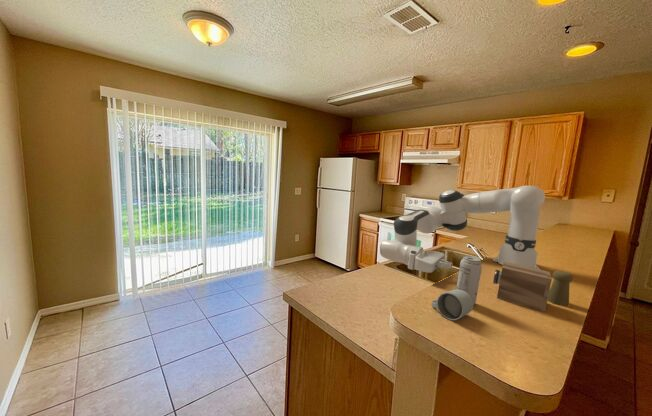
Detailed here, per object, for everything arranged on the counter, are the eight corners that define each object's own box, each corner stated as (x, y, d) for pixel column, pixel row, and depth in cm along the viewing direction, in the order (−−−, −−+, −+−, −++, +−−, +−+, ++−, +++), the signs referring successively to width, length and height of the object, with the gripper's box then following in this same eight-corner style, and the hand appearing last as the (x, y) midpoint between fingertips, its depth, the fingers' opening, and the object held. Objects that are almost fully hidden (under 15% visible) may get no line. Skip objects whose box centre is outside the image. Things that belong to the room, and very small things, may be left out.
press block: (498, 289, 100) (504, 261, 98) (543, 302, 92) (549, 271, 91) (496, 298, 93) (502, 267, 91) (544, 312, 85) (551, 279, 84)
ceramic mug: (473, 317, 79) (477, 292, 78) (460, 325, 73) (464, 299, 72) (438, 302, 87) (441, 279, 86) (425, 309, 82) (428, 284, 81)
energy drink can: (478, 308, 84) (486, 262, 82) (459, 306, 85) (466, 260, 82) (469, 299, 90) (476, 256, 88) (451, 297, 91) (458, 254, 88)
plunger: (493, 280, 99) (496, 267, 98) (537, 292, 92) (540, 278, 91) (492, 285, 95) (495, 271, 94) (537, 297, 88) (540, 282, 87)
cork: (573, 307, 90) (580, 276, 89) (552, 304, 91) (559, 273, 90) (561, 299, 96) (567, 270, 95) (542, 296, 97) (548, 267, 96)
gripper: (422, 258, 122) (455, 267, 114) (406, 270, 105) (443, 281, 97) (424, 244, 121) (458, 252, 113) (408, 254, 105) (446, 264, 96)
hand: (451, 265), depth 105 cm, fingers closed
